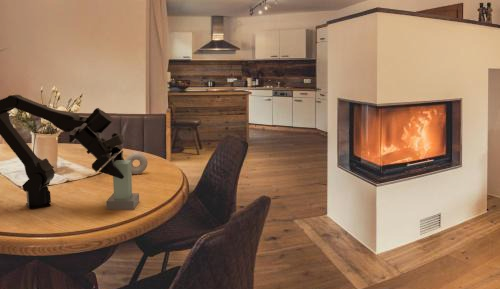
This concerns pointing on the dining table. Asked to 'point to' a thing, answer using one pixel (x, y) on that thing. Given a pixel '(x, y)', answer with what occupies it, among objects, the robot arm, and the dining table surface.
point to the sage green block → (123, 180)
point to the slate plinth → (122, 202)
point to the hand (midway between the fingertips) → (126, 174)
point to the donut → (142, 162)
